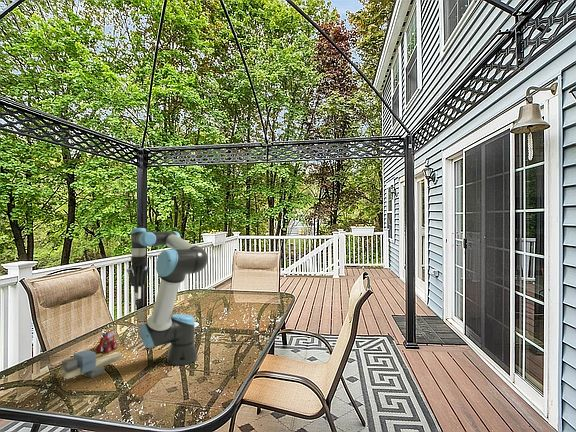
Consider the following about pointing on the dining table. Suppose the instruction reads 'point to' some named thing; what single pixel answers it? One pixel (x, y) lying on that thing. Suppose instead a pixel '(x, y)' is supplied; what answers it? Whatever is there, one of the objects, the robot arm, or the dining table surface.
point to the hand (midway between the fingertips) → (138, 298)
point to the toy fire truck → (107, 342)
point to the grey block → (86, 360)
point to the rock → (99, 355)
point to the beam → (73, 370)
